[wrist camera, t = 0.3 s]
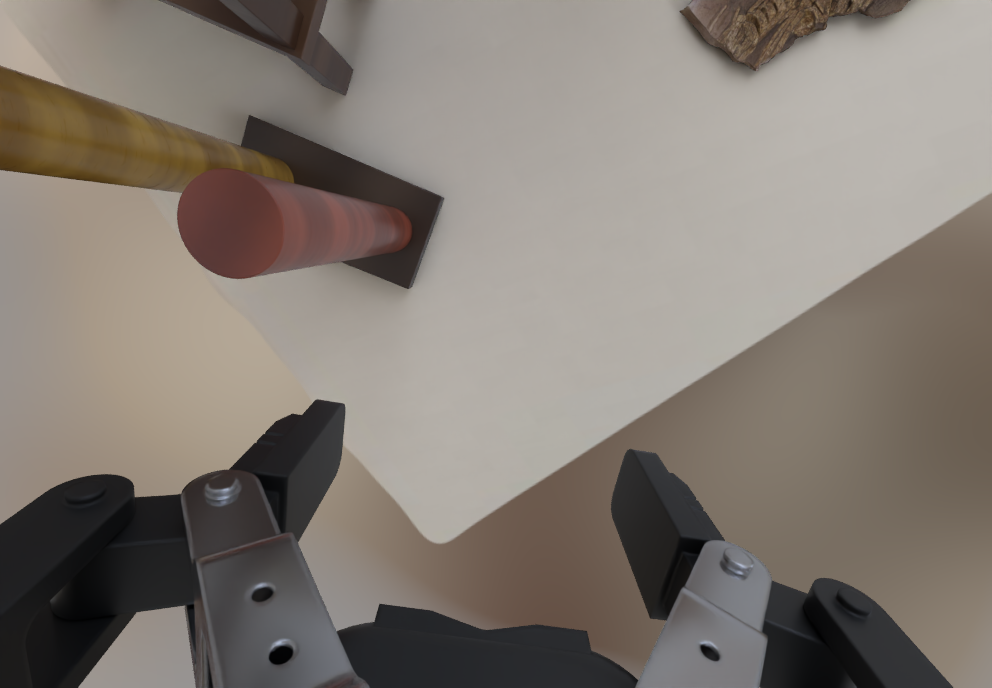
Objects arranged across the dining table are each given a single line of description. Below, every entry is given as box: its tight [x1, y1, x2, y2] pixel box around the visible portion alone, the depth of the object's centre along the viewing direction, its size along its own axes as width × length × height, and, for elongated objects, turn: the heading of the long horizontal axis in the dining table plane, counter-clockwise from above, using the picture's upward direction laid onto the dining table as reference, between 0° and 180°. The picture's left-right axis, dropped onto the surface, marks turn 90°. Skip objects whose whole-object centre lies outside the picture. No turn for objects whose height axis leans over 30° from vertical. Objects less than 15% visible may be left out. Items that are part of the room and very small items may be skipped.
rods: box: [0, 66, 444, 289], centre depth 27 cm, size 16×8×24 cm, turn 68°
